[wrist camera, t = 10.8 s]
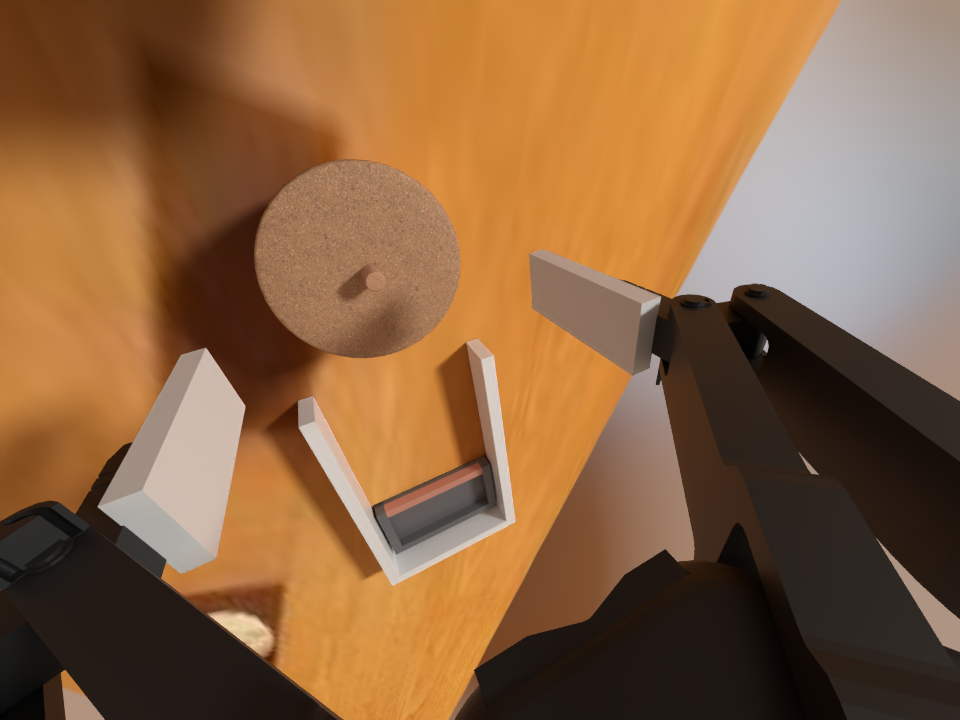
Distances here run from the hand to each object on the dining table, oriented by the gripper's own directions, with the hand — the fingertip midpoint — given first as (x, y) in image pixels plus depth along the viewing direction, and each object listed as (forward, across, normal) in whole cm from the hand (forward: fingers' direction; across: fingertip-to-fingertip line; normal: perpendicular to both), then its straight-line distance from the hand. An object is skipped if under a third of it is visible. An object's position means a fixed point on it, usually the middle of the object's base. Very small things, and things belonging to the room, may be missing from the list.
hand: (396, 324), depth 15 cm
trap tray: (+14, 0, -31) cm, 34 cm away
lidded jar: (+14, 0, +1) cm, 14 cm away
